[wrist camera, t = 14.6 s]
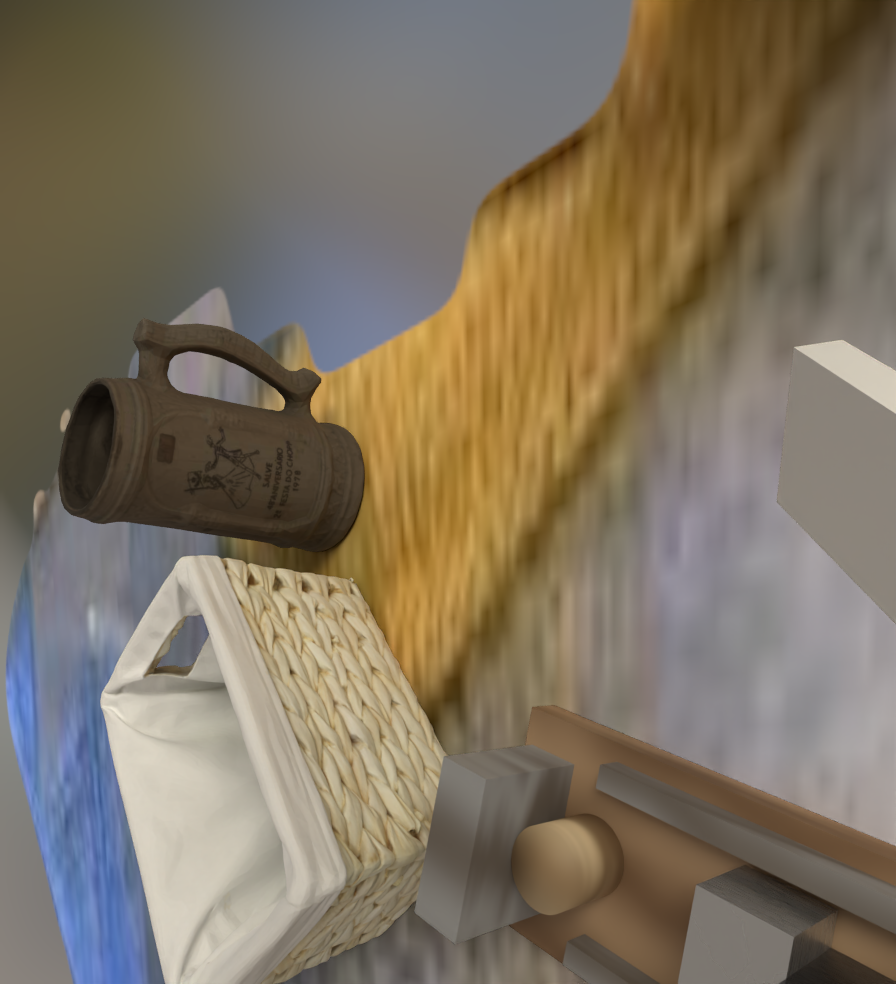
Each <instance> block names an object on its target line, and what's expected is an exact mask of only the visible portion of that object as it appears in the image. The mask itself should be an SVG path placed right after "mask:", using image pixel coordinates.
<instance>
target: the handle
mask: <svg viewBox="0 0 896 984" xmlns="http://www.w3.org/2000/svg"><path fill="white" fill-rule="evenodd" d="M837 915H838V910H837V909H835V908H833V907H831V906H829V905H827V904H825V903H823V902H821V901H819V900H817V899H815V898H813V897H811V896H809V895H806V894H804V893H802V892H800V891H798V890H796V889H794V888H792V887H790V886H788V885H786V884H784V883H782V882H780V881H778V880H776V879H774V878H772V877H770V876H768V875H766V874H764V873H762V872H760V871H757V870H755V869H753V868H751V867H749V866H747V865H743V866H740V867H738V868H736V869H733V870H731V871H728V872H726V873H723V874H721V875H719V876H716V877H714V878H711V879H709V880H707V881H704V882H702V883H699V884H697V885H696V888H695V894H694V899H693V904H692V910H691V915H690V920H689V926H688V931H687V936H686V942H685V947H684V952H683V958H682V963H681V968H680V974H679V979H678V984H896V981H894V980H892V979H890V978H888V977H886V976H885V975H883V974H881V973H879V972H877V971H875V970H873V969H871V968H869V967H867V966H866V965H864V964H862V963H860V962H858V961H856V960H854V959H852V958H850V957H848V956H847V955H845V954H843V953H841V952H839V951H837V950H835V949H833V948H831V947H832V941H833V936H834V931H835V925H836V920H837Z"/></svg>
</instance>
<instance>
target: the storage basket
mask: <svg viewBox="0 0 896 984" xmlns="http://www.w3.org/2000/svg"><path fill="white" fill-rule="evenodd" d="M353 581H354V580H353V579H352V578H350V580H347V579H343V578H338V577H335V576H325V575H319V574H318V575H315V574H314V573H300V572H295V571H293V570H288V569H282V568H276V569H274V568H270V567H262V566H259V565H256V564H253V563H250V564H248V565H247V564H246V563H245V562H244V561H241V560H235V559H231V558H224V559H221V558H219V557H218V556H206V555H200V556H185V557H182V558H180V559H179V560H178V562H177V563H176V565H175V568H174V569H173V571H172V572H171V574H170V575H169V576H168V578H167V579H166V580H165V582H164V583H163V585H162V587H161V588H160V590H159V592H158V593H157V595H156V596H155V598H154V600H153V601H152V603H151V604H150V606H149V608H148V609H147V611H146V613H145V614H144V616H143V618H142V620H141V621H140V623H139V625H138V627H137V628H136V630H135V632H134V634H133V635H132V637H131V639H130V641H129V642H128V644H127V646H126V648H125V649H124V651H123V653H122V655H121V657H120V659H119V660H118V663H117V665H116V667H115V670H114V672H113V674H112V676H111V678H110V680H109V682H108V684H107V685H106V687H105V688H104V691H103V692H102V695H101V701H100V703H101V708H102V710H103V713H104V717H105V722H106V726H107V731H108V737H109V742H110V747H111V752H112V757H113V762H114V766H115V771H116V775H117V779H118V783H119V787H120V791H121V795H122V799H123V803H124V807H125V811H126V815H127V819H128V823H129V827H130V831H131V835H132V839H133V843H134V847H135V851H136V856H137V860H138V864H139V869H140V873H141V877H142V882H143V886H144V891H145V895H146V899H147V904H148V909H149V913H150V918H151V923H152V927H153V932H154V936H155V941H156V945H157V950H158V954H159V958H160V963H161V967H162V972H163V976H164V980H165V984H277V983H281V982H285V981H287V980H288V979H290V978H292V977H293V976H295V975H297V974H299V973H300V972H301V971H302V969H309V968H312V967H315V966H317V965H318V964H319V963H323V962H326V961H327V960H328V959H329V958H330V956H337V955H339V954H340V953H342V952H343V951H344V950H349V949H351V948H353V947H355V946H356V945H357V944H363V943H365V942H368V941H369V940H370V939H372V938H374V937H378V936H380V935H381V934H383V933H384V932H385V931H386V930H387V929H388V928H389V927H390V926H391V925H392V924H393V923H394V921H395V920H396V919H398V918H399V917H400V916H401V915H402V914H403V913H404V912H405V911H406V910H407V909H408V908H409V907H410V906H411V904H412V903H413V902H416V901H417V895H418V890H419V885H420V879H421V874H422V869H423V864H424V858H425V853H426V848H427V842H428V837H429V832H430V826H431V821H432V816H433V810H434V805H435V800H436V794H437V789H438V784H439V779H440V773H441V768H442V763H443V757H444V756H447V754H446V753H445V752H444V751H443V749H442V747H441V745H440V743H439V741H438V739H437V737H436V736H435V734H434V730H433V727H432V725H431V724H430V722H429V720H428V718H427V716H426V714H425V712H424V711H423V709H422V708H421V706H420V704H419V703H418V699H417V696H416V695H415V693H414V692H413V690H412V688H411V686H410V684H409V682H408V681H407V679H406V678H405V676H404V674H403V673H402V671H401V669H400V664H399V662H398V661H397V659H396V658H395V657H394V656H393V654H392V652H391V650H390V648H389V646H388V644H387V642H386V640H385V637H384V634H383V632H382V631H381V629H379V627H378V625H377V623H376V621H375V619H374V617H373V615H372V614H371V612H370V608H369V606H368V604H367V603H366V602H365V601H364V598H363V596H362V594H361V593H360V591H359V589H358V587H357V584H355V583H354V582H353ZM189 615H190V616H198V615H203V617H204V620H205V623H206V626H207V628H208V631H209V636H208V638H207V640H206V641H205V643H204V645H203V647H202V650H201V652H200V654H199V656H198V657H197V659H196V661H195V662H194V663H193V664H192V665H191V666H186V667H178V666H163V667H158V668H156V667H157V665H158V663H159V662H160V660H161V658H162V657H163V656H164V655H165V654H166V653H167V652H168V651H169V650H170V643H171V641H172V640H173V638H174V637H175V636H176V635H177V634H178V630H179V629H181V628H182V627H183V624H184V622H185V619H186V617H187V616H189Z"/></svg>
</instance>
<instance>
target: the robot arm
mask: <svg viewBox="0 0 896 984" xmlns="http://www.w3.org/2000/svg"><path fill="white" fill-rule="evenodd" d="M777 503H778V504H779V505H780V506H781V507H782V508H783V509H784V510H785V511H786V512H787V513H788V514H789V515H790V516H791V517H792V518H793V519H794V520H795V521H796V522H797V523H798V524H799V525H800V526H801V527H802V528H803V529H804V530H805V531H806V532H807V533H808V534H809V536H810V537H811V538H812V539H813V540H814V541H815V542H816V543H817V544H818V545H819V546H820V547H821V548H822V549H823V550H824V551H825V552H826V553H827V554H828V555H829V556H830V557H831V558H832V559H833V560H834V561H835V562H836V563H837V564H838V565H839V566H840V567H841V568H842V569H843V570H844V572H845V573H846V574H847V575H848V576H849V577H850V578H851V579H852V580H853V581H854V582H855V583H856V584H857V585H858V586H859V587H860V588H861V589H862V590H863V591H864V592H865V593H866V594H867V595H868V596H869V597H870V598H871V599H872V600H873V601H874V602H875V603H876V604H877V605H878V606H879V608H880V609H881V610H882V611H883V612H884V613H885V614H886V615H887V616H888V617H889V618H890V619H891V620H892V621H893V622H894V623H895V624H896V371H895V370H893V369H892V368H890V367H888V366H886V365H885V364H883V363H881V362H880V361H878V360H876V359H874V358H873V357H871V356H869V355H867V354H866V353H864V352H862V351H861V350H859V349H857V348H855V347H854V346H852V345H850V344H848V343H847V342H845V341H843V340H838V341H831V342H825V343H818V344H812V345H805V346H799V347H794V351H793V360H792V369H791V377H790V386H789V395H788V404H787V413H786V422H785V431H784V440H783V449H782V458H781V467H780V476H779V485H778V494H777Z"/></svg>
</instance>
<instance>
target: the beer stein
mask: <svg viewBox="0 0 896 984" xmlns="http://www.w3.org/2000/svg"><path fill="white" fill-rule="evenodd" d="M133 341H134V343H135V345H136V346H137V348H138V350H139V372H138V377H137V378H136V379H132V378H115V379H111V378H98V379H95V380H94V381H92V382H90V383H89V384H88V385H87V387H86V388H85V389H84V391H83V392H82V393H81V395H80V396H79V398H78V400H77V402H76V404H75V406H74V410H73V412H72V415H71V418H70V420H69V423H68V425H67V428H66V432H65V436H64V441H63V444H62V449H61V456H60V462H59V468H58V475H59V491H60V496H61V501H62V504H63V506H64V508H65V509H66V510H67V511H68V512H69V513H70V514H71V515H73V516H77V517H80V518H84V519H87V520H89V521H91V522H93V523H99V524H106V523H112V522H131V523H138V524H145V525H153V526H160V527H167V528H174V529H181V530H187V531H193V532H199V533H205V534H211V535H218V536H225V537H233V538H240V539H247V540H255V541H261V542H266V543H271V544H273V545H276V546H278V547H280V548H290V547H295V548H299V549H304V550H307V551H313V552H318V551H324V550H327V549H329V548H331V547H333V546H335V545H336V544H337V543H338V542H340V541H341V540H342V539H343V538H344V536H345V535H346V533H347V532H348V530H349V528H350V527H351V525H352V524H353V522H354V520H355V518H356V515H357V512H358V509H359V505H360V502H361V498H362V493H363V485H364V464H363V459H362V454H361V450H360V447H359V445H358V443H357V442H356V440H355V438H354V437H353V435H352V434H351V433H349V432H348V431H347V430H346V429H345V428H343V427H341V426H338V425H335V424H330V423H317V422H316V420H315V419H314V418H313V416H312V415H311V410H310V402H311V397H312V396H313V394H314V392H315V390H316V388H317V387H318V386H319V384H320V383H321V378H320V377H319V376H318V375H317V374H316V373H314V372H313V371H311V370H308V369H306V368H302V369H300V370H298V371H289V370H287V369H285V368H284V367H282V366H281V365H280V364H279V363H277V362H276V361H275V360H274V359H273V358H272V357H271V356H269V355H268V354H267V353H266V352H265V351H264V350H262V349H261V348H260V347H259V346H258V345H256V344H255V343H254V342H252V341H250V340H249V339H247V338H245V337H244V336H242V335H240V334H238V333H235V332H233V331H231V330H228V329H226V328H223V327H219V326H212V325H204V324H183V325H166V324H160V323H156V322H153V321H150V320H148V319H145V318H144V319H142V320H141V321H140V322H139V324H138V326H137V328H136V330H135V333H134V336H133ZM188 351H192V352H200V353H205V354H209V355H213V356H217V357H220V358H223V359H225V360H227V361H229V362H231V363H234V364H237V365H239V366H241V367H243V368H245V369H246V370H248V371H250V372H251V373H253V374H255V375H256V376H258V377H259V378H261V379H262V380H264V381H265V382H267V383H268V384H269V385H271V386H272V387H274V388H275V389H276V390H277V391H278V392H279V393H280V394H281V395H282V396H283V398H284V400H285V407H284V409H283V410H282V411H275V410H268V409H262V408H256V407H250V406H246V405H241V404H236V403H231V402H226V401H222V400H218V399H214V398H209V397H203V396H198V395H193V394H187V393H183V392H180V391H178V390H176V389H175V388H174V387H173V386H172V385H171V383H170V381H169V379H168V376H167V372H168V368H169V363H170V361H171V359H172V358H173V357H174V356H175V355H178V354H180V353H184V352H188Z"/></svg>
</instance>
